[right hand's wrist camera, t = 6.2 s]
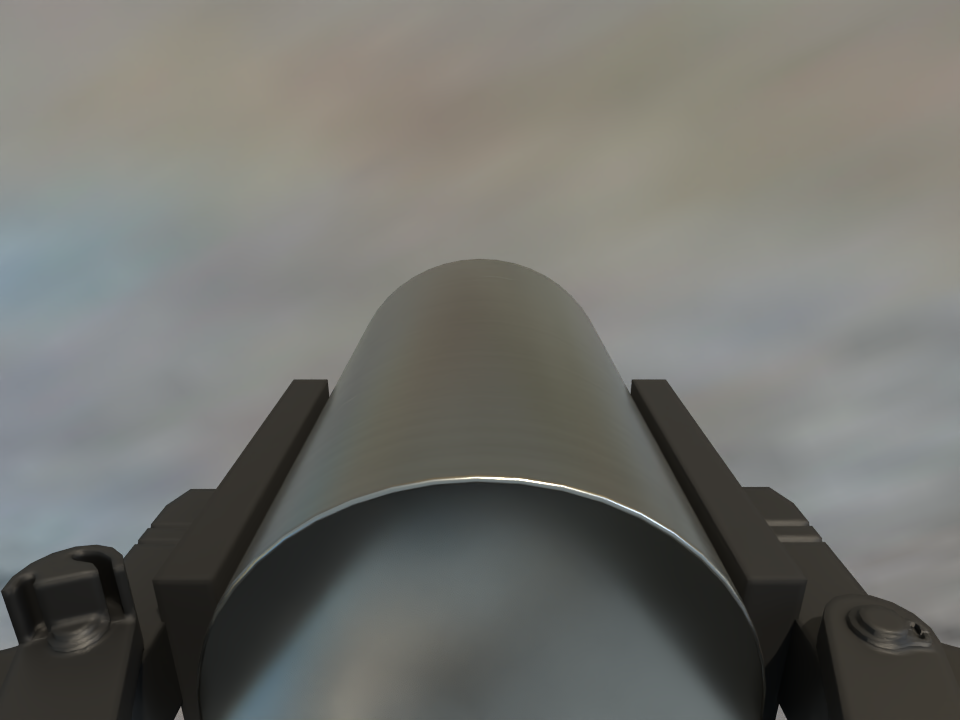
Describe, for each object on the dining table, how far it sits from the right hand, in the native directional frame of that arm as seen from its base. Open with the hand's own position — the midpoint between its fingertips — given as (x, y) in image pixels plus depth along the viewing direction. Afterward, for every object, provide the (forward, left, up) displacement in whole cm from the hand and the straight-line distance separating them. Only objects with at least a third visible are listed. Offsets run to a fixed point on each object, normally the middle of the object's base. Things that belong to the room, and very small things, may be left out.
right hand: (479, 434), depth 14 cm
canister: (0, 0, -3) cm, 3 cm away
